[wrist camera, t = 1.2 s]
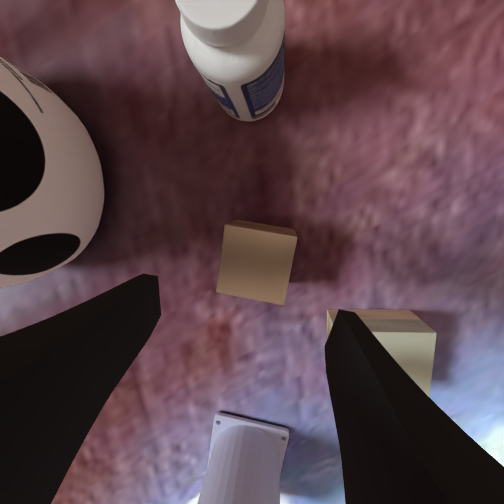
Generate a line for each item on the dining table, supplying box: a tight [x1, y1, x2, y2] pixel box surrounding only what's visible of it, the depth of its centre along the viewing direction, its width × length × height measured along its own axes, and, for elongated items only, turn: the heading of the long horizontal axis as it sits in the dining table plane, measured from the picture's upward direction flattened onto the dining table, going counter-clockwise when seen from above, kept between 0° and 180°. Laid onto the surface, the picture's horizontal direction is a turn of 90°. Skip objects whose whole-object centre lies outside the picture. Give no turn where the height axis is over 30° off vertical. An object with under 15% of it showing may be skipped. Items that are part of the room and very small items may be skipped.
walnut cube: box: [216, 220, 297, 305], centre depth 19 cm, size 5×5×5 cm
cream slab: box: [327, 310, 437, 397], centre depth 20 cm, size 7×7×4 cm
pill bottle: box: [175, 0, 285, 121], centre depth 14 cm, size 5×5×10 cm
